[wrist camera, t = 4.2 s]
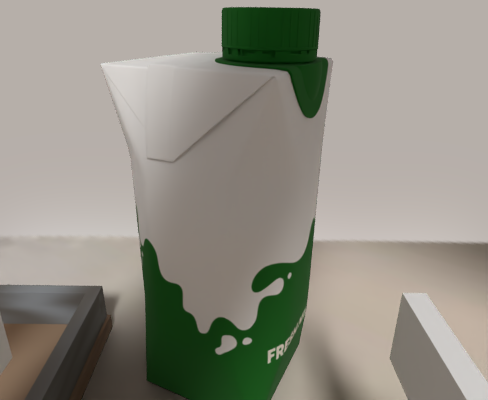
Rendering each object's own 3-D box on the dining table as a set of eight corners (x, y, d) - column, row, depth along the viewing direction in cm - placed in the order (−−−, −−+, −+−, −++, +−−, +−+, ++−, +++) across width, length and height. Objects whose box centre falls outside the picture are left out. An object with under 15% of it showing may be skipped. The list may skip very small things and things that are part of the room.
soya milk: (265, 453, 20) (288, 5, 12) (122, 385, 24) (65, 5, 16) (316, 339, 27) (352, 10, 19) (200, 300, 31) (190, 9, 23)
